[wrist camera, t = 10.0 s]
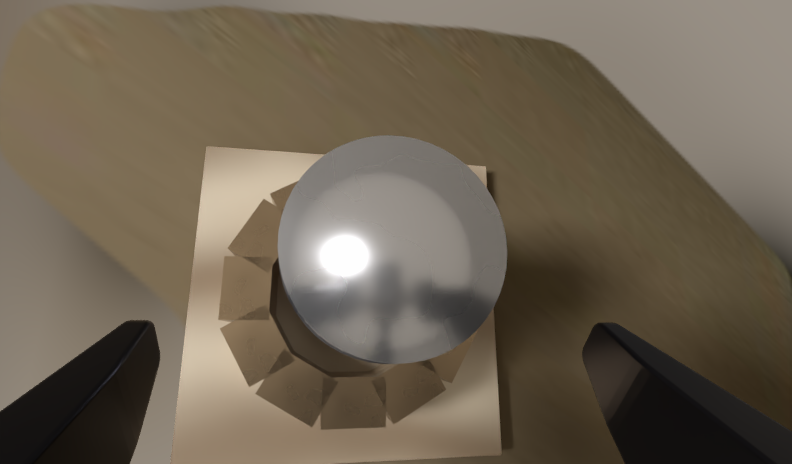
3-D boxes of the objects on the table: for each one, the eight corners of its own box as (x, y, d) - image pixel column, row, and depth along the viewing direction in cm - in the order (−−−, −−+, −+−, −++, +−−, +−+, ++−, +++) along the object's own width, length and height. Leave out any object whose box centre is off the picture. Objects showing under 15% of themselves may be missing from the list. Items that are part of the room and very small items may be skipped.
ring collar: (460, 411, 20) (484, 423, 17) (224, 418, 18) (207, 433, 15) (452, 198, 22) (473, 177, 19) (244, 186, 20) (233, 161, 17)
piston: (417, 321, 20) (549, 297, 9) (325, 369, 19) (340, 415, 8) (373, 232, 21) (443, 103, 9) (281, 274, 20) (234, 183, 8)
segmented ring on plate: (494, 450, 20) (501, 455, 20) (175, 466, 18) (169, 471, 17) (480, 172, 24) (485, 166, 23) (210, 153, 21) (206, 146, 20)
